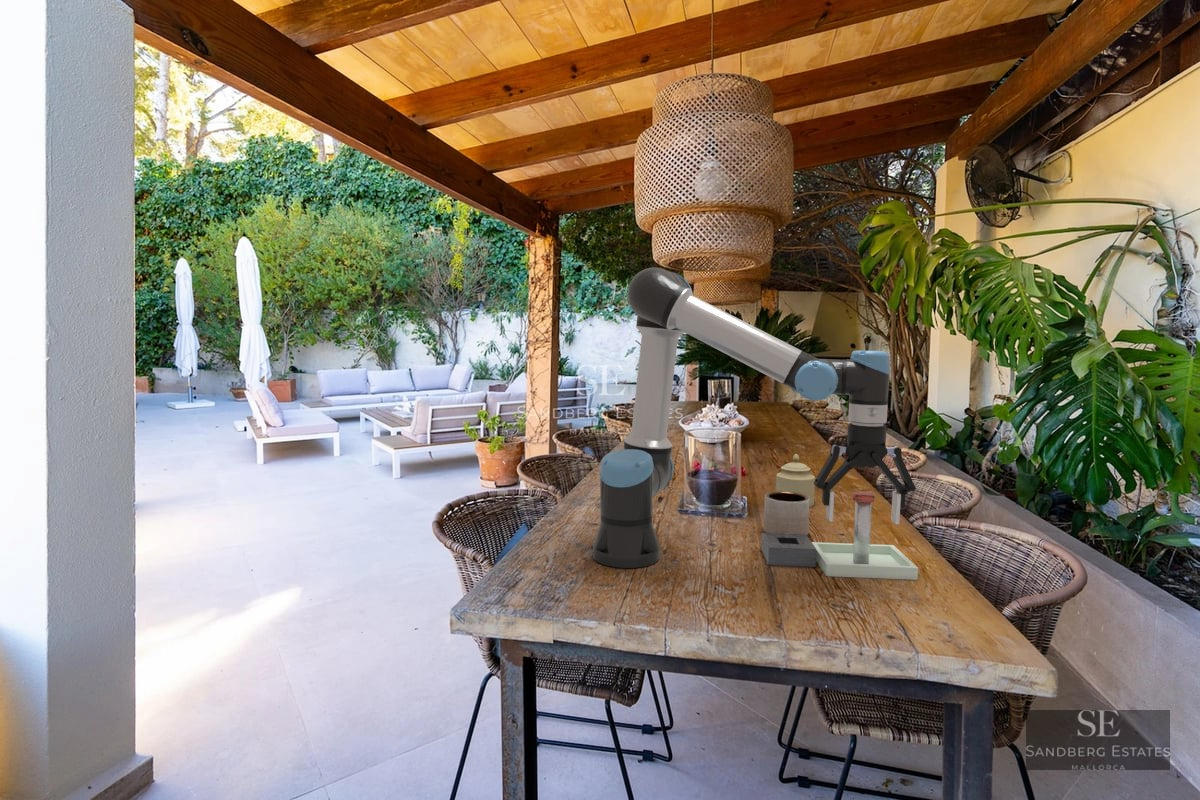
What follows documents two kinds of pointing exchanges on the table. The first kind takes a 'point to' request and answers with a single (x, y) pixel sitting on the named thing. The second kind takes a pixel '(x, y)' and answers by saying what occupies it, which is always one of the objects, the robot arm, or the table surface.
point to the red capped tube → (862, 526)
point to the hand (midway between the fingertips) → (862, 521)
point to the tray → (881, 564)
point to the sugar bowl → (796, 479)
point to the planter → (786, 513)
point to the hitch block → (788, 550)
